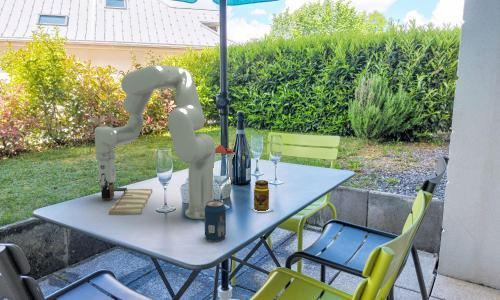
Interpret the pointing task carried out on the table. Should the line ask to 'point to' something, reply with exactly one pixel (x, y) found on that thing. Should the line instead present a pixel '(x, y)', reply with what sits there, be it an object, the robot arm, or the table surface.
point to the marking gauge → (112, 189)
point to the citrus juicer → (231, 154)
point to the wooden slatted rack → (131, 202)
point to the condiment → (261, 195)
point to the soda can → (215, 220)
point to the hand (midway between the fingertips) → (108, 196)
